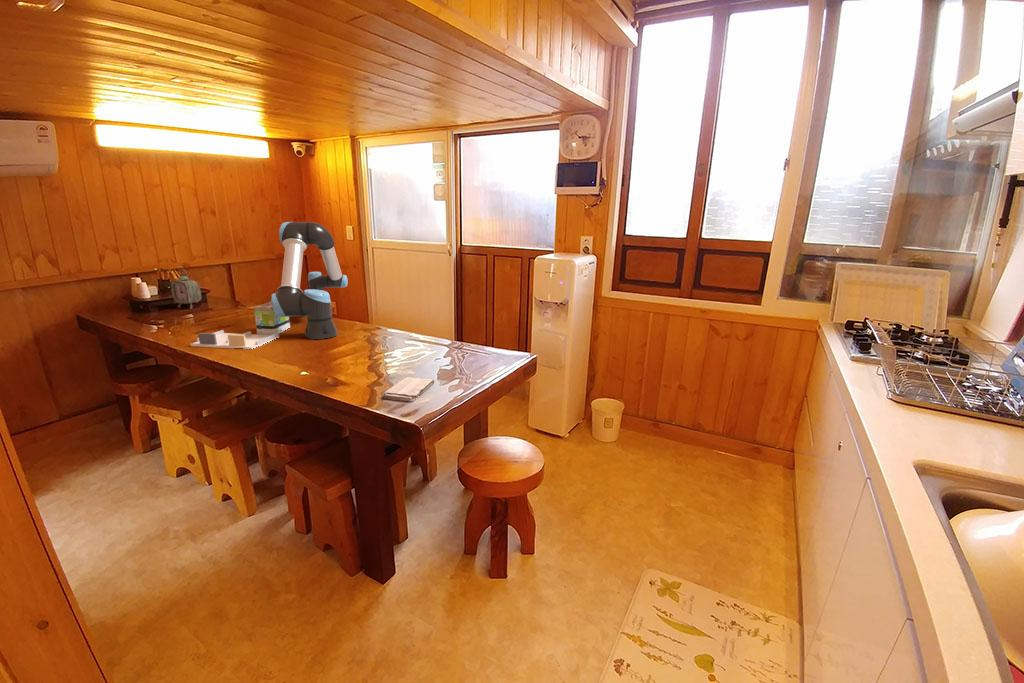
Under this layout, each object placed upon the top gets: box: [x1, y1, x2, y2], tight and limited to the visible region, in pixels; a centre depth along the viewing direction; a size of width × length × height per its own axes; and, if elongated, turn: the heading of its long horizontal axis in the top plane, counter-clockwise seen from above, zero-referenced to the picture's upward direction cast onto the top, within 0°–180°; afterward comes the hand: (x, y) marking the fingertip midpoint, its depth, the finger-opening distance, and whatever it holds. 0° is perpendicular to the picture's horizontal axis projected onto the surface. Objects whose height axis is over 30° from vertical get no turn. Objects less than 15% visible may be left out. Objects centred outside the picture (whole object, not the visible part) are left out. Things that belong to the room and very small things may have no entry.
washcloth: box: [383, 376, 435, 403], centre depth 159 cm, size 12×18×3 cm, turn 167°
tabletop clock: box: [169, 268, 202, 310], centre depth 282 cm, size 14×9×25 cm, turn 72°
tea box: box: [253, 301, 291, 335], centre depth 231 cm, size 15×10×15 cm
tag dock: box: [190, 329, 280, 350], centre depth 214 cm, size 31×20×6 cm, turn 83°
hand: (286, 308), depth 242 cm, fingers open, 13 cm apart
